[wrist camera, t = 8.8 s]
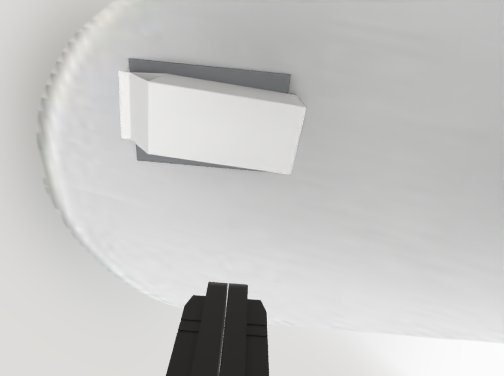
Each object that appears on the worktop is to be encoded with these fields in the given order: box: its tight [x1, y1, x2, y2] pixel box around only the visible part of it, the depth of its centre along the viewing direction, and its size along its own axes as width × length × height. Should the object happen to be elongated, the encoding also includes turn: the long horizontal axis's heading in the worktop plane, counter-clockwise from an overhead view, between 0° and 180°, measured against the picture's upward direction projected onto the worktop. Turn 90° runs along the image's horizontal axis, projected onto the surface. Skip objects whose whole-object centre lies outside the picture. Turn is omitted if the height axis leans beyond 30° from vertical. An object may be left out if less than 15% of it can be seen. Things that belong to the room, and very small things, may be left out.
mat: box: [129, 59, 291, 172], centre depth 36 cm, size 18×12×1 cm, turn 85°
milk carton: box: [118, 71, 306, 175], centre depth 32 cm, size 7×7×19 cm
